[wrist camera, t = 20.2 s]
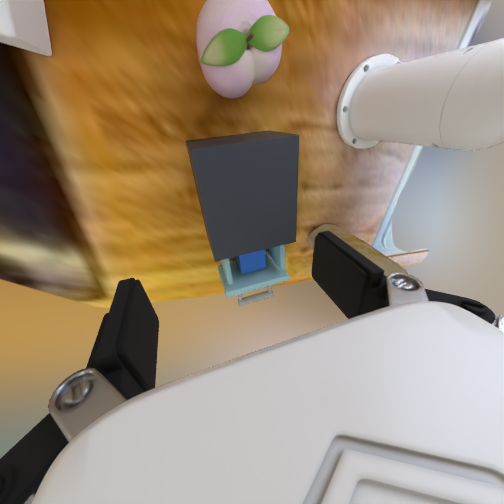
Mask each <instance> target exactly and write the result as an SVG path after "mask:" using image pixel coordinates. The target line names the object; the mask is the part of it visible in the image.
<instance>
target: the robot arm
mask: <svg viewBox="0 0 504 504" xmlns="http://www.w3.org/2000/svg"><path fill="white" fill-rule="evenodd" d="M337 126H338V130H339V133H340V136H341V138H342V139H343V141H344V142H345V143H346V144H347V145H349V146H351V147H353V148H357V149H367V148H370V147H373V146H375V145H377V144H378V143H380V142H381V141H384V142H393V143H402V144H410V145H419V146H428V147H436V148H445V149H455V150H466V151H467V150H468V151H469V150H470V151H473V150H481V149H486V148H490V147H493V146H496V145H499V144H502V143H504V38H503V39H499V40H496V41H492V42H487V43H483V44H479V45H475V46H471V47H466V48H462V49H458V50H454V51H449V52H445V53H441V54H437V55H432V56H428V57H424V58H420V59H416V60H411V61H407V62H403V63H401V61H400V60H399V59H398V58H397V57H395V56H393V55H391V54H380V55H376V56H373V57H370V58H368V59H367V60H365V61H363V62H362V63H361V64H360V65H359V66H358V67H356V68H355V70H354V71H353V72H352V74H351V75H350V76H349V78H348V80H347V81H346V83H345V85H344V87H343V89H342V92H341V94H340V98H339V102H338V107H337ZM384 272H385V271H384V270H383V269H382V268H380V267H379V266H377V265H376V264H375V263H373V262H372V261H371V260H369V259H368V258H366V257H365V256H364V255H362V254H361V253H359V252H358V251H357V250H355V249H354V248H353V247H351V246H350V245H348V244H347V243H346V242H344V241H343V240H341V239H340V238H339V237H337V236H336V235H335V234H333V233H332V232H330V231H323V232H319V233H318V234H317V236H315V241H314V252H313V263H312V277H313V279H314V280H315V281H316V282H317V283H318V285H319V286H320V287H321V288H322V289H323V290H324V291H325V292H326V294H327V295H328V296H329V297H330V298H331V299H332V301H333V302H334V303H335V304H336V305H337V306H338V307H339V309H340V310H341V311H342V312H343V313H344V314H345V315H346V317H347V318H348V320H345V321H342V322H339V323H336V324H333V325H330V326H327V327H324V328H322V329H318V330H315V331H312V332H309V333H307V334H304V335H301V336H298V337H295V338H292V339H289V340H287V341H284V342H281V343H278V344H275V345H272V346H269V347H266V348H264V349H261V350H258V351H255V352H252V353H249V354H246V355H244V356H241V357H238V358H235V359H232V360H229V361H226V362H224V363H221V364H218V365H215V366H212V367H210V368H207V369H204V370H201V371H198V372H196V373H193V374H191V375H187V376H185V377H182V378H179V379H177V380H174V381H171V382H169V383H166V384H163V385H160V386H158V387H156V388H155V379H156V363H157V347H158V332H159V320H158V317H157V315H156V313H155V311H154V309H153V307H152V305H151V302H150V300H149V298H148V296H147V294H146V292H145V290H144V288H143V286H142V284H141V282H140V281H139V280H135V279H134V278H130V279H126V280H122V281H119V283H118V286H117V289H116V292H115V296H114V299H113V302H112V305H111V308H110V311H109V313H106V314H105V315H104V317H103V320H102V323H101V326H100V329H99V332H98V335H97V338H96V341H95V344H94V347H93V349H92V352H91V356H90V358H89V361H88V364H87V367H86V369H82V370H80V371H77V372H75V373H73V374H72V375H71V376H69V377H68V378H66V379H65V380H64V381H63V382H62V383H61V384H60V385H59V386H58V387H57V388H56V390H55V391H54V392H53V394H52V396H51V398H50V400H49V405H48V408H49V412H50V413H49V414H48V415H47V416H46V417H45V418H44V419H42V420H41V421H40V423H38V424H37V425H36V426H35V427H34V428H33V429H32V430H31V431H30V432H29V433H28V434H26V435H25V436H24V437H23V438H22V439H21V440H20V441H19V442H18V443H17V444H16V445H15V446H14V447H13V448H12V449H10V450H9V451H8V452H7V453H6V454H5V455H4V456H3V457H2V458H1V459H0V504H504V316H502V315H499V316H498V317H496V316H495V314H494V313H493V312H492V311H491V310H490V309H489V308H488V307H487V306H485V305H483V304H482V303H480V302H478V301H475V300H472V299H469V298H464V297H460V296H455V295H451V294H446V293H441V292H437V291H432V290H428V289H425V288H424V286H423V284H422V282H421V281H420V280H419V279H417V278H415V277H414V276H411V275H409V274H405V273H399V272H396V273H391V274H389V275H388V276H386V275H384Z"/></svg>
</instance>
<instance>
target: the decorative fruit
mask: <svg viewBox="0 0 504 504" xmlns="http://www.w3.org/2000/svg"><path fill="white" fill-rule="evenodd" d="M289 32H290V29H289V27H288V25H287V24H286V23H285V22H284V21H283V20H282V19H280V18H278V17H277V16H276V15H275V13H274V11H273V9H272V7H271V6H270V4H269V2H268V1H267V0H206V2H205V3H204V5H203V7H202V9H201V11H200V14H199V16H198V20H197V26H196V47H197V53H198V58H199V62H200V66H201V69H202V72H203V75H204V77H205V79H206V81H207V83H208V84H209V86H210V87H211V88H212V89H213V90H214V91H215V92H216V93H218V94H219V95H221V96H223V97H226V98H238V97H241V96H243V95H244V94H246V93H247V92H248V90H249V89H250V87H251V86H252V84H260V83H263V82H265V81H267V80H268V79H270V77H271V76H272V75H273V74H274V72H275V71H276V69H277V67H278V65H279V63H280V58H281V53H282V43H283V42H284V40H285V39H286V38H287V36H288V34H289Z"/></svg>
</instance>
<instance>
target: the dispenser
mask: <svg viewBox="0 0 504 504" xmlns="http://www.w3.org/2000/svg"><path fill="white" fill-rule="evenodd" d="M186 145H187V149H188V153H189V158H190V162H191V167H192V171H193V175H194V180H195V184H196V188H197V193H198V197H199V202H200V206H201V210H202V215H203V219H204V224H205V228H206V232H207V236H208V239H209V242H210V246H211V249H212V252H213V256H214V259H215V262H216V261H220V260H224V259H228V258H232V257H236V256H240V255H244V254H248V253H252V252H256V251H260V250H265V249H269V248H273V247H277V246H281V245H285V244H289V243H293V242H296V219H297V188H298V157H299V135H297V134H289V133H282V132H275V131H262V132H254V133H246V134H239V135H231V136H223V137H215V138H207V139H199V140H191V141H186Z"/></svg>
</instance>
